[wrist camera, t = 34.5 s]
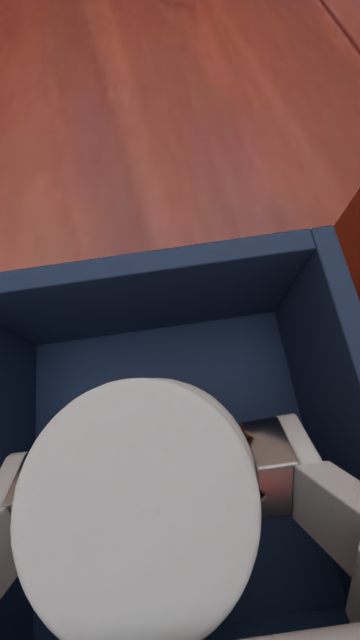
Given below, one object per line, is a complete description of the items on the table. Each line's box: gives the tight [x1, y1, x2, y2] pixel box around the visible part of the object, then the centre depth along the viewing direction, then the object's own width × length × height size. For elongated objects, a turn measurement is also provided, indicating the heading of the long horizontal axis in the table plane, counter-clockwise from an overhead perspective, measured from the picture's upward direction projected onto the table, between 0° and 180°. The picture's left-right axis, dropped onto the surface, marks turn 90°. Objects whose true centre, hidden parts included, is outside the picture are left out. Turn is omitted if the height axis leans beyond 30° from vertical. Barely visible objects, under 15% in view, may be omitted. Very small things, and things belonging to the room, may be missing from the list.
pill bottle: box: [10, 378, 261, 640], centre depth 9 cm, size 5×5×8 cm
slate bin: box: [0, 226, 360, 640], centre depth 12 cm, size 14×14×7 cm
